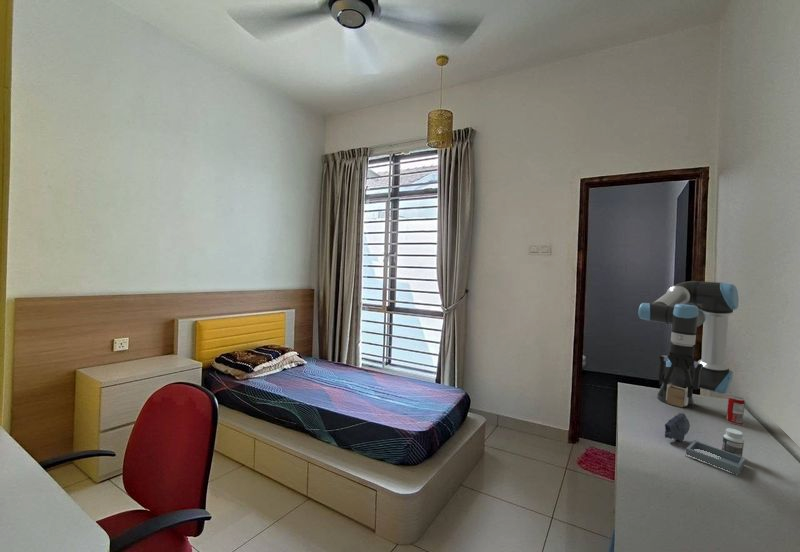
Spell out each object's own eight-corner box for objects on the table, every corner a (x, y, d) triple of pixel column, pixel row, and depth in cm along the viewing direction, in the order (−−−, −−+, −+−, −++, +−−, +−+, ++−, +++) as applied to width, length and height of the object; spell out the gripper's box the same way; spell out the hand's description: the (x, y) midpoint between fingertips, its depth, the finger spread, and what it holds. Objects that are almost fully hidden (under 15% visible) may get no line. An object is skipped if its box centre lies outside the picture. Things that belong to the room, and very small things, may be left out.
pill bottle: (722, 450, 140) (724, 425, 139) (742, 457, 136) (745, 431, 135) (720, 455, 136) (723, 430, 135) (741, 462, 132) (744, 436, 131)
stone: (679, 447, 140) (682, 423, 140) (661, 441, 145) (663, 417, 144) (689, 437, 149) (691, 414, 148) (671, 431, 154) (673, 408, 153)
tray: (693, 447, 141) (694, 440, 141) (744, 466, 129) (745, 458, 129) (685, 456, 134) (686, 448, 134) (738, 476, 123) (739, 467, 123)
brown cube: (671, 399, 144) (672, 385, 144) (686, 404, 140) (688, 389, 140) (666, 402, 141) (667, 387, 140) (682, 407, 137) (683, 392, 136)
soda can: (731, 419, 169) (733, 394, 168) (745, 424, 164) (748, 399, 163) (723, 420, 167) (726, 395, 166) (737, 425, 162) (740, 400, 161)
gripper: (652, 340, 144) (646, 396, 145) (710, 350, 130) (703, 413, 131) (658, 338, 149) (652, 392, 150) (714, 348, 135) (708, 408, 136)
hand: (676, 402), depth 141 cm, fingers closed on brown cube, 5 cm apart
